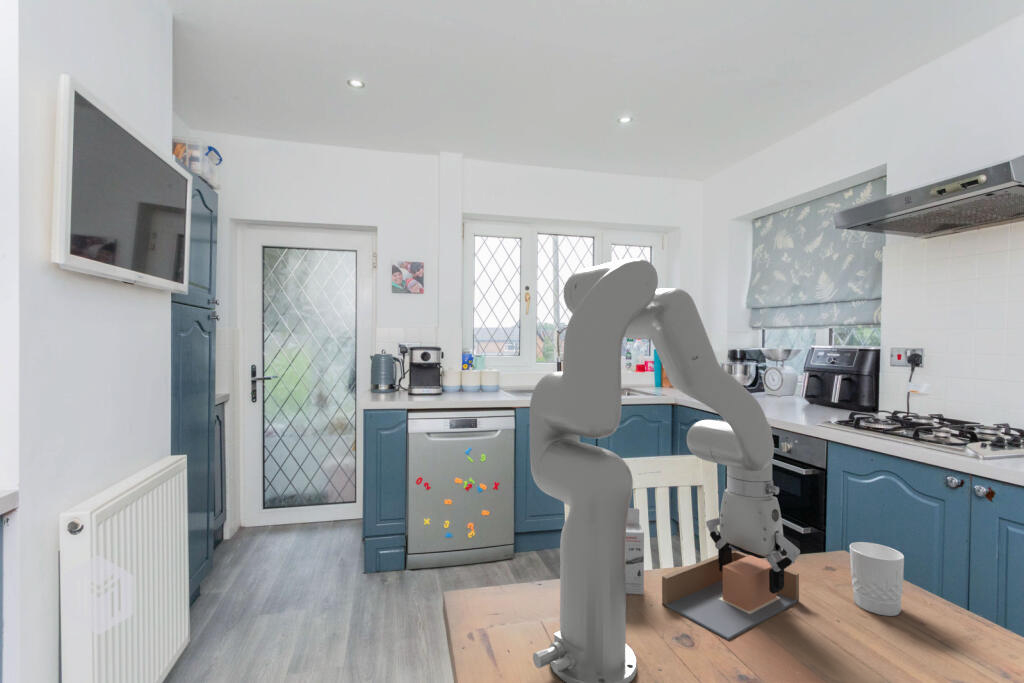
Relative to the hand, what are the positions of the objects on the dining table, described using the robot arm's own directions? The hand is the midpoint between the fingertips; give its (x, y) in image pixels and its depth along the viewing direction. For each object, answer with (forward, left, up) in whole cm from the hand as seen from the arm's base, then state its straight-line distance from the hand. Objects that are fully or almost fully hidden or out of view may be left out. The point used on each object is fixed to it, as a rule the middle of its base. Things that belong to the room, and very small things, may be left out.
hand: (749, 579), depth 89 cm
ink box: (-17, +17, -4) cm, 24 cm away
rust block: (0, 0, -3) cm, 3 cm away
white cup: (+17, -13, -4) cm, 22 cm away
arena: (-4, +3, -4) cm, 6 cm away
